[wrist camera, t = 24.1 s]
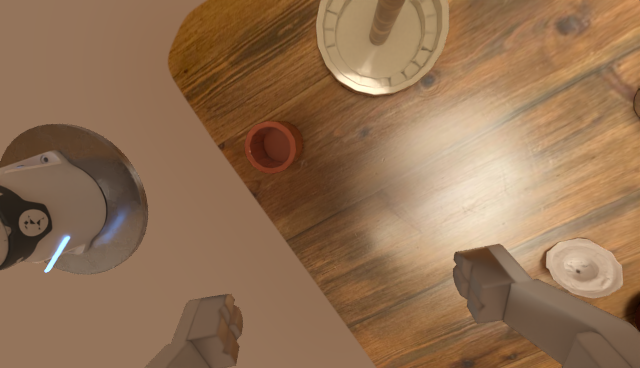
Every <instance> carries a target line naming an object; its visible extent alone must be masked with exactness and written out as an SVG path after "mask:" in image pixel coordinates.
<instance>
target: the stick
mask: <svg viewBox="0 0 640 368" xmlns="http://www.w3.org/2000/svg"><path fill="white" fill-rule="evenodd" d="M405 1H406V0H378V3H377V7H376V11H375V14H374V18H373V22H372V26H371V30H370V34H369V39H370V41H371V43H372V44H374V45H376V46H379V45H382V44H384V43H385V41H386V40H387V38H388V36H389V34H390V31H391V29H392V27H393V25H394V23H395V21H396V19H397V17H398V15H399V13H400V11H401V9H402V7H403V5H404V3H405Z"/></svg>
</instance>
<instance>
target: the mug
mask: <svg viewBox="0 0 640 368" xmlns="http://www.w3.org/2000/svg"><path fill="white" fill-rule="evenodd" d="M634 108H635V111H636V113H637V115H638V116H639V117H640V89H639V91H638V92H637V94H636V97H635V101H634Z"/></svg>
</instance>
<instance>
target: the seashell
mask: <svg viewBox="0 0 640 368" xmlns="http://www.w3.org/2000/svg"><path fill="white" fill-rule="evenodd" d="M546 268H548V269H549V271H550V273H551V275H552V277H553V280H555V281H556V282H557V283H559V284H560V285H561V286H563V288H564V289H568V290H569V291H570V292H571V293H574V294H577V295H580V296H584V297H589V298H596V297H597V298H598V297H602V296H608V295H610V294H611V293H612V292H615V291H616V290H618V289H620V288H621V285H623V277H622V265H620V264H619V263H618V262H617V260H616V259H615V257H614V256H613V254H612V253H611V252H610V251H608V250H605V248H602V247H601V246H599V245H597V244H595V243H593V242H592V241H590V240H589V239H582V238H576V239H573V240H567V241H565V242H558V243H557V245H555V246H554V247H553V248H552V249H551V250H550V251H547V257H546Z"/></svg>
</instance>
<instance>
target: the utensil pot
mask: <svg viewBox="0 0 640 368" xmlns="http://www.w3.org/2000/svg"><path fill="white" fill-rule="evenodd" d="M302 150H303V138H302V135H301V133H300V131H299V130H298V129H297V128H296V127H295V126H294V125H293V124H291V123H289V122H285V121H265V122H262V123H259V124H256V125H255V126H254V127H253V128H252V129H251V130H250V131H249V132H248V134H247V137H246V140H245V152H246V157H247V158H248V160H249V161H250V163H251V164H252V166H253V167H255V168H257V169H258V170H260V171H261V172H264V173H271V174H275V173H278V172H281V171H284V170H285V169H286V168H288V167H289V166H290V165H291V164H293V163H294V162H295V161H296V160H297V159H298V158H299V157H300V155H301V153H302Z"/></svg>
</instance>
